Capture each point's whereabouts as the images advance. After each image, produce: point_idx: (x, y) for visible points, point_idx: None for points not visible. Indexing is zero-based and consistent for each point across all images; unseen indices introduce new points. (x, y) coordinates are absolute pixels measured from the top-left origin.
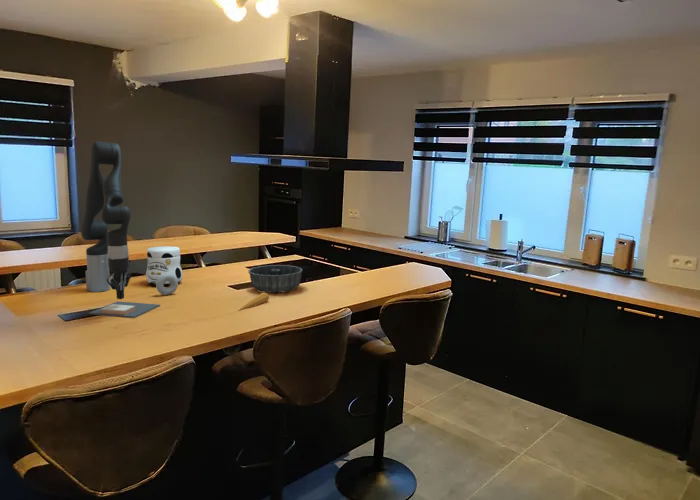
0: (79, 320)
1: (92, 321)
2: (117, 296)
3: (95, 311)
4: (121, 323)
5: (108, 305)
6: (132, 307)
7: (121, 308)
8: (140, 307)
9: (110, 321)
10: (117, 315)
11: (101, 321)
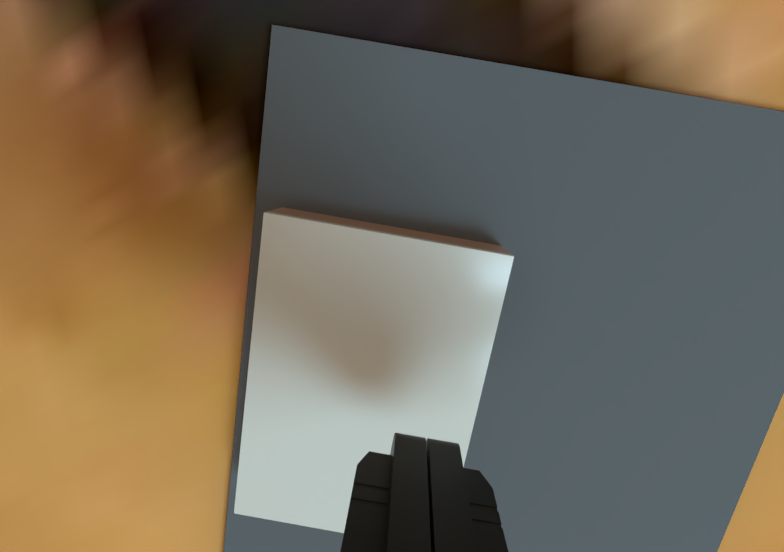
0: (23, 60)
1: (31, 231)
2: (354, 485)
3: (342, 84)
4: (52, 518)
5: (653, 110)
6: None
7: (311, 451)
8: (553, 522)
9: (80, 404)
10: (239, 408)
11: (57, 322)
